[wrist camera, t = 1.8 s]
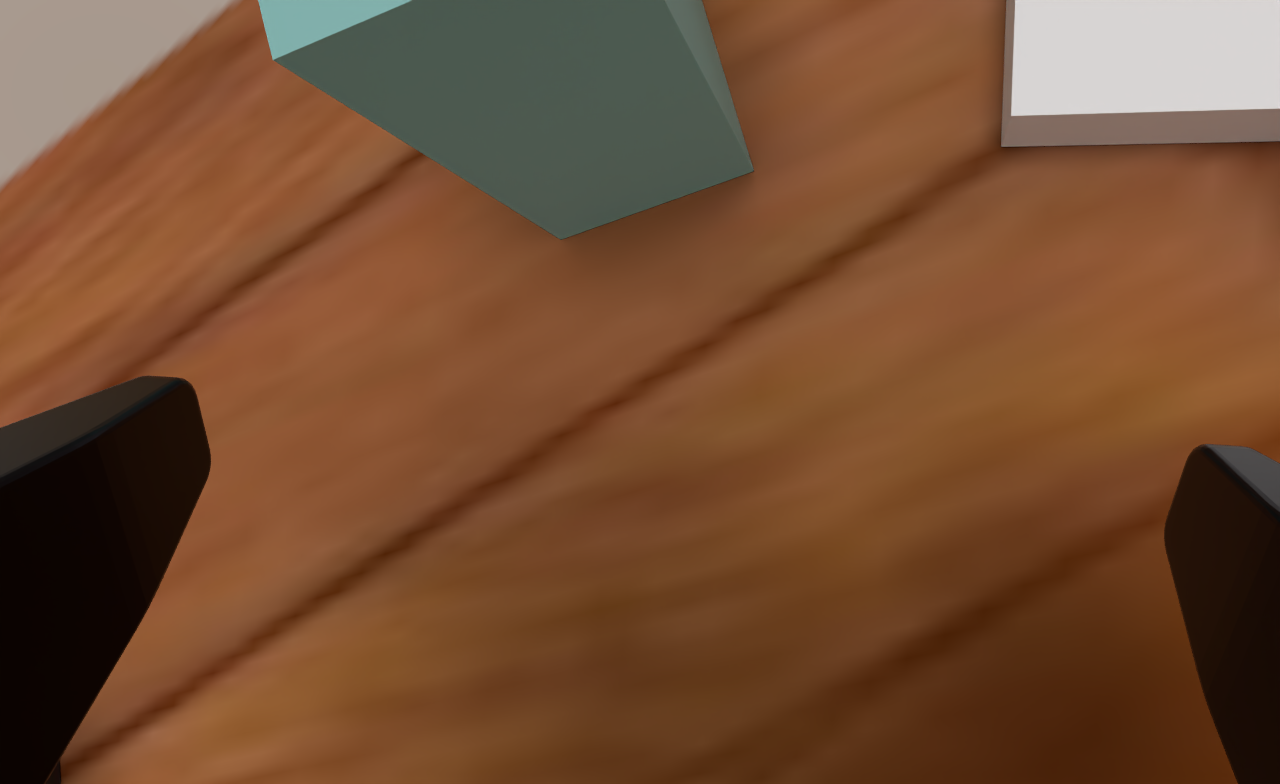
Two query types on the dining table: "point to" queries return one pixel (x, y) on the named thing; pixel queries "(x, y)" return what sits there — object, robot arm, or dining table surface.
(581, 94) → the teal block
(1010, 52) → the base slab
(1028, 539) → the dining table surface
